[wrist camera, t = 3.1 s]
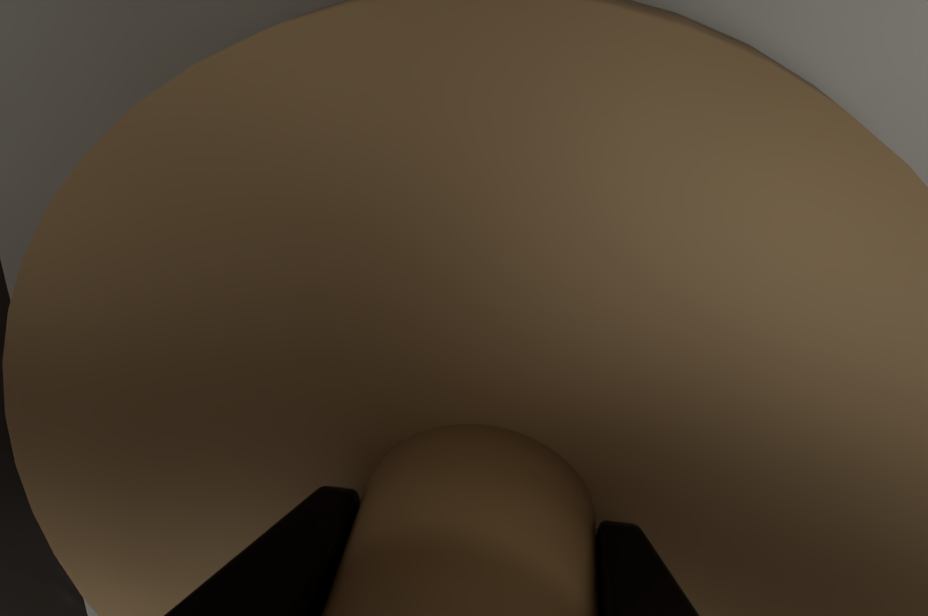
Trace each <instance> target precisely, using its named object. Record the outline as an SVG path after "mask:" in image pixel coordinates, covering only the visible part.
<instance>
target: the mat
mask: <svg viewBox="0 0 928 616" xmlns="http://www.w3.org/2000/svg"><path fill="white" fill-rule="evenodd" d="M343 1H346V0H0V260H1V264H2V268H3V272H4V276H5V281H6V285H7V289H8V293H9V297H10V301H11V298H12V295H13V291H14V287H15V284H16V280H17V277H18V273H19V270H20V266H21V263H22V259H23V256H24V254H25V252H26V250H27V248H28V246H29V244H30V242H31V240H32V237H33V235H34V233H35V231H36V229H37V227H38V225H39V223H40V221H41V219H42V217H43V215H44V212H45V210H46V208H47V206H48V204H49V203H50V201H51V200H52V199H53V197H54V196H55V194H56V193H57V192H58V190H59V189H60V187H61V186H62V185H63V183H64V182H65V181H66V179H67V178H68V176H69V175H70V174H71V172H72V171H73V169H74V168H75V167H76V165H77V164H78V162H79V161H80V160H81V158H82V157H83V155H84V154H85V153H86V152H87V151H88V150H89V149H90V148H91V147H92V146H93V145H94V144H95V143H96V142H97V141H98V140H99V139H100V138H101V137H102V136H103V135H104V134H105V133H106V132H107V131H108V130H109V129H110V128H111V127H112V126H113V125H114V124H115V123H116V122H117V121H118V120H119V119H120V118H121V117H122V116H123V115H124V114H125V113H127V112H128V111H129V110H130V109H131V108H132V107H133V106H134V105H136V104H137V103H138V102H140V101H141V100H143V99H144V98H146V97H147V96H148V95H150V94H151V93H153V92H154V91H156V90H157V89H158V88H160V87H161V86H163V85H164V84H166V83H167V82H168V81H170V80H171V79H173V78H174V77H175V76H177V75H178V74H180V73H181V72H183V71H184V70H185V69H187V68H188V67H190V66H191V65H193V64H195V63H197V62H200V61H202V60H204V59H206V58H208V57H210V56H212V55H214V54H216V53H218V52H220V51H222V50H224V49H226V48H228V47H230V46H232V45H234V44H236V43H238V42H241V41H243V40H245V39H247V38H249V37H251V36H253V35H255V34H257V33H259V32H261V31H263V30H266V29H268V28H270V27H273V26H275V25H277V24H280V23H282V22H284V21H286V20H289V19H291V18H293V17H296V16H298V15H302V14H305V13H308V12H311V11H314V10H318V9H321V8H324V7H327V6H330V5H334V4H337V3H340V2H343ZM632 1H636V2H639V3H643V4H646V5H650V6H654V7H657V8H661V9H665V10H668V11H672V12H675V13H678V14H680V15H683V16H685V17H687V18H690V19H692V20H694V21H696V22H699V23H701V24H703V25H706V26H708V27H710V28H712V29H715V30H717V31H719V32H722V33H724V34H726V35H728V36H731V37H733V38H735V39H738V40H740V41H742V42H744V43H747V44H749V45H751V46H752V47H754V48H755V49H757V50H759V51H760V52H762V53H763V54H765V55H767V56H768V57H770V58H771V59H773V60H774V61H776V62H778V63H779V64H781V65H782V66H784V67H786V68H787V69H789V70H790V71H792V72H794V73H795V74H797V75H798V76H800V77H802V78H803V79H805V80H806V81H808V82H810V83H811V84H813V85H814V86H815V87H817V88H818V89H819V90H821V91H822V92H823V93H824V94H826V95H827V96H828V97H829V98H831V99H832V100H833V101H834V102H836V103H837V104H838V105H839V106H841V107H842V108H843V109H844V110H846V111H847V112H848V113H849V114H850V115H852V116H853V117H854V118H855V119H856V120H857V121H858V122H860V123H861V124H862V125H863V126H864V127H865V128H867V129H868V130H869V131H870V132H871V133H872V134H874V135H875V136H876V137H877V138H878V139H879V140H880V141H882V142H883V143H884V144H885V145H886V146H887V147H889V148H890V149H891V150H892V151H893V152H894V153H895V154H897V155H898V156H899V157H900V158H901V159H902V160H904V161H905V162H906V163H907V164H908V165H909V166H910V167H911V168H912V169H913V171H914V172H915V173H916V174H917V175H918V177H919V178H920V179H921V180H922V181H923V183H924V184H925V185H926V186H927V187H928V0H632ZM84 602H85V606H86V610H87V615H88V616H98V614H97V613H96V612H95V611H94V610H93V609H92V607H91V606H90V605H89V604H88V603H87V601H86V600H85V599H84Z"/></svg>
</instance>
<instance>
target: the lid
mask: <svg viewBox="0 0 928 616" xmlns="http://www.w3.org/2000/svg"><path fill="white" fill-rule="evenodd" d="M2 366H3V385H4V404H5V417H6V422H7V426H8V431H9V436H10V441H11V446H12V451H13V455H14V460H15V465H16V468H17V470H18V473H19V476H20V479H21V482H22V484H23V487H24V490H25V493H26V496H27V498H28V501H29V504H30V507H31V509H32V512H33V514H34V516H35V518H36V520H37V522H38V524H39V526H40V528H41V530H42V532H43V533H44V535H45V537H46V539H47V541H48V543H49V545H50V547H51V549H52V551H53V553H54V555H55V557H56V558H57V560H58V561H59V563H60V564H61V565H62V567H63V568H64V570H65V571H66V573H67V574H68V576H69V577H70V579H71V580H72V582H73V583H74V585H75V586H76V588H77V589H78V591H79V592H80V594H81V595H82V597H83V598H84V599H85V600H86V601H87V603H88V604H89V605H90V606H91V607H92V609H93V610H94V611H95V612H96V613H97V614H98V616H164V615H165V614H166V613H167V612H169V611H170V610H171V609H172V608H174V607H175V606H176V605H177V604H178V603H180V602H181V601H182V600H183V599H184V598H186V597H187V596H188V595H189V594H190V593H192V592H193V591H194V590H195V589H197V588H198V587H199V586H200V585H201V584H203V583H204V582H205V581H206V580H207V579H209V578H210V577H211V576H212V575H213V574H215V573H216V572H217V571H218V570H220V569H221V568H222V567H223V566H224V565H226V564H227V563H228V562H229V561H230V560H232V559H233V558H234V557H235V556H236V555H238V554H239V553H240V552H241V551H242V550H244V549H245V548H246V547H247V546H249V545H250V544H251V543H252V542H253V541H255V540H256V539H257V538H258V537H259V536H261V535H262V534H263V533H264V532H265V531H267V530H268V529H269V528H270V527H272V526H273V525H274V524H275V523H276V522H278V521H279V520H280V519H281V518H282V517H284V516H285V515H286V514H287V513H288V512H290V511H291V510H292V509H293V508H295V507H296V506H297V505H298V504H299V503H301V502H302V501H303V500H304V499H305V498H307V497H308V496H309V495H310V494H311V493H313V492H314V491H315V490H316V489H318V488H319V487H322V486H327V485H328V486H336V487H344V488H352V489H355V490H356V491H357V492H358V494H359V498H360V506H359V509H358V511H357V514H356V517H355V520H354V523H353V526H352V529H351V531H350V534H349V537H348V540H347V543H346V546H345V548H344V551H343V554H342V557H341V560H340V563H339V566H338V568H337V571H336V574H335V577H334V580H333V583H332V585H331V588H330V591H329V594H328V597H327V600H326V603H325V605H324V608H323V611H322V614H321V616H599V605H598V576H597V547H596V535H597V530H598V526H599V524H600V523H601V522H602V521H604V520H609V521H617V522H625V523H633V524H636V525H638V526H639V527H640V528H641V529H642V530H643V532H644V533H645V535H646V536H647V538H648V539H649V541H650V542H651V544H652V545H653V547H654V548H655V550H656V551H657V553H658V554H659V556H660V557H661V559H662V560H663V562H664V563H665V565H666V566H667V568H668V569H669V571H670V572H671V574H672V575H673V577H674V578H675V580H676V581H677V583H678V584H679V586H680V587H681V589H682V590H683V592H684V593H685V595H686V596H687V598H688V599H689V601H690V602H691V604H692V605H693V607H694V608H695V610H696V611H697V613H698V614H699V616H928V187H927V186H926V185H925V184H924V183H923V181H922V180H921V179H920V178H919V177H918V175H917V174H916V173H915V172H914V171H913V169H912V168H911V167H910V166H909V165H908V164H907V163H906V162H905V161H904V160H902V159H901V158H900V157H899V156H898V155H897V154H895V153H894V152H893V151H892V150H891V149H890V148H889V147H887V146H886V145H885V144H884V143H883V142H882V141H880V140H879V139H878V138H877V137H876V136H875V135H874V134H872V133H871V132H870V131H869V130H868V129H867V128H865V127H864V126H863V125H862V124H861V123H860V122H858V121H857V120H856V119H855V118H854V117H853V116H852V115H850V114H849V113H848V112H847V111H846V110H844V109H843V108H842V107H841V106H839V105H838V104H837V103H836V102H834V101H833V100H832V99H831V98H829V97H828V96H827V95H826V94H824V93H823V92H822V91H821V90H819V89H818V88H817V87H815V86H814V85H813V84H811V83H810V82H808V81H806V80H805V79H803V78H802V77H800V76H798V75H797V74H795V73H794V72H792V71H790V70H789V69H787V68H786V67H784V66H782V65H781V64H779V63H778V62H776V61H774V60H773V59H771V58H770V57H768V56H767V55H765V54H763V53H762V52H760V51H759V50H757V49H755V48H754V47H752V46H751V45H749V44H747V43H744V42H742V41H740V40H738V39H735V38H733V37H731V36H728V35H726V34H724V33H722V32H719V31H717V30H715V29H712V28H710V27H708V26H706V25H703V24H701V23H699V22H696V21H694V20H692V19H690V18H687V17H685V16H683V15H680V14H678V13H675V12H672V11H668V10H665V9H661V8H657V7H654V6H650V5H646V4H643V3H639V2H636V1H632V0H346V1H343V2H340V3H337V4H334V5H330V6H327V7H324V8H321V9H318V10H314V11H311V12H308V13H305V14H302V15H298V16H296V17H293V18H291V19H289V20H286V21H284V22H282V23H280V24H277V25H275V26H273V27H270V28H268V29H266V30H263V31H261V32H259V33H257V34H255V35H253V36H251V37H249V38H247V39H245V40H243V41H241V42H238V43H236V44H234V45H232V46H230V47H228V48H226V49H224V50H222V51H220V52H218V53H216V54H214V55H212V56H210V57H208V58H206V59H204V60H202V61H200V62H197V63H195V64H193V65H191V66H190V67H188V68H187V69H185V70H184V71H183V72H181V73H180V74H178V75H177V76H175V77H174V78H173V79H171V80H170V81H168V82H167V83H166V84H164V85H163V86H161V87H160V88H158V89H157V90H156V91H154V92H153V93H151V94H150V95H148V96H147V97H146V98H144V99H143V100H141V101H140V102H138V103H137V104H136V105H134V106H133V107H132V108H131V109H130V110H129V111H128V112H127V113H125V114H124V115H123V116H122V117H121V118H120V119H119V120H118V121H117V122H116V123H115V124H114V125H113V126H112V127H111V128H110V129H109V130H108V131H107V132H106V133H105V134H104V135H103V136H102V137H101V138H100V139H99V140H98V141H97V142H96V143H95V144H94V145H93V146H92V147H91V148H90V149H89V150H88V151H87V152H86V153H85V154H84V155H83V157H82V158H81V160H80V161H79V162H78V164H77V165H76V167H75V168H74V169H73V171H72V172H71V174H70V175H69V176H68V178H67V179H66V181H65V182H64V183H63V185H62V186H61V187H60V189H59V190H58V192H57V193H56V194H55V196H54V197H53V199H52V200H51V201H50V203H49V204H48V206H47V208H46V210H45V212H44V215H43V217H42V219H41V221H40V223H39V225H38V227H37V229H36V231H35V233H34V235H33V237H32V240H31V242H30V244H29V246H28V248H27V250H26V252H25V254H24V256H23V259H22V263H21V266H20V270H19V273H18V277H17V280H16V284H15V287H14V291H13V295H12V298H11V302H10V305H9V309H8V315H7V325H6V334H5V343H4V353H3V362H2Z"/></svg>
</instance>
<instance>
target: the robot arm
mask: <svg viewBox="0 0 928 616" xmlns="http://www.w3.org/2000/svg"><path fill="white" fill-rule="evenodd" d="M359 506H360V498H359V494H358V492H357V491H356V490H355V489H352V488H344V487H336V486H328V485H327V486H322V487H319V488H318V489H316V490H315V491H314V492H313V493H311V494H310V495H309V496H308V497H307V498H305V499H304V500H303V501H302V502H301V503H299V504H298V505H297V506H296V507H295V508H293V509H292V510H291V511H290V512H288V513H287V514H286V515H285V516H284V517H282V518H281V519H280V520H279V521H278V522H276V523H275V524H274V525H273V526H272V527H270V528H269V529H268V530H267V531H265V532H264V533H263V534H262V535H261V536H259V537H258V538H257V539H256V540H255V541H253V542H252V543H251V544H250V545H249V546H247V547H246V548H245V549H244V550H242V551H241V552H240V553H239V554H238V555H236V556H235V557H234V558H233V559H232V560H230V561H229V562H228V563H227V564H226V565H224V566H223V567H222V568H221V569H220V570H218V571H217V572H216V573H215V574H213V575H212V576H211V577H210V578H209V579H207V580H206V581H205V582H204V583H203V584H201V585H200V586H199V587H198V588H197V589H195V590H194V591H193V592H192V593H190V594H189V595H188V596H187V597H186V598H184V599H183V600H182V601H181V602H180V603H178V604H177V605H176V606H175V607H174V608H172V609H171V610H170V611H169V612H167V613H166V614H165V615H164V616H321V614H322V611H323V608H324V605H325V603H326V600H327V597H328V594H329V591H330V588H331V585H332V583H333V580H334V577H335V574H336V571H337V568H338V566H339V563H340V560H341V557H342V554H343V551H344V548H345V546H346V543H347V540H348V537H349V534H350V531H351V529H352V526H353V523H354V520H355V517H356V514H357V511H358V509H359ZM596 547H597V576H598V605H599V616H699V614H698V613H697V611H696V610H695V608H694V607H693V605H692V604H691V602H690V601H689V599H688V598H687V596H686V595H685V593H684V592H683V590H682V589H681V587H680V586H679V584H678V583H677V581H676V580H675V578H674V577H673V575H672V574H671V572H670V571H669V569H668V568H667V566H666V565H665V563H664V562H663V560H662V559H661V557H660V556H659V554H658V553H657V551H656V550H655V548H654V547H653V545H652V544H651V542H650V541H649V539H648V538H647V536H646V535H645V533H644V532H643V530H642V529H641V528H640V527H639V526H638V525H636V524H633V523H625V522H617V521H609V520H604V521H602V522H601V523H600V524H599V526H598V530H597V535H596Z"/></svg>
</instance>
